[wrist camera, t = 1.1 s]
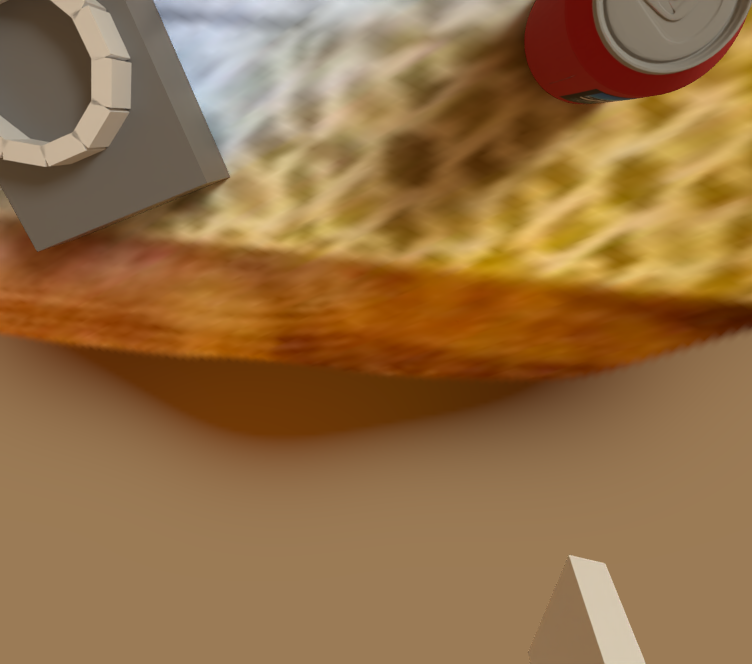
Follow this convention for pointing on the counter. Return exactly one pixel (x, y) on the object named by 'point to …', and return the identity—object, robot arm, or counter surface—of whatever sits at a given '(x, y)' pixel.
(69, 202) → the camera body
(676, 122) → the counter surface
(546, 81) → the beverage can
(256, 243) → the counter surface
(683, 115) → the counter surface
